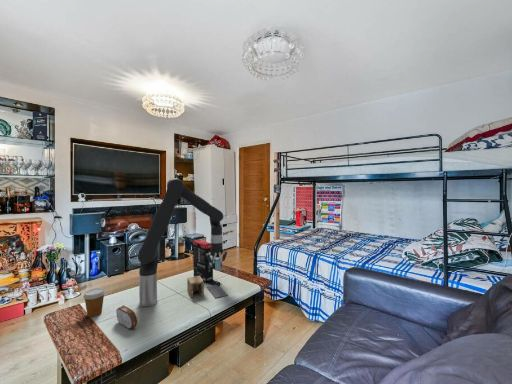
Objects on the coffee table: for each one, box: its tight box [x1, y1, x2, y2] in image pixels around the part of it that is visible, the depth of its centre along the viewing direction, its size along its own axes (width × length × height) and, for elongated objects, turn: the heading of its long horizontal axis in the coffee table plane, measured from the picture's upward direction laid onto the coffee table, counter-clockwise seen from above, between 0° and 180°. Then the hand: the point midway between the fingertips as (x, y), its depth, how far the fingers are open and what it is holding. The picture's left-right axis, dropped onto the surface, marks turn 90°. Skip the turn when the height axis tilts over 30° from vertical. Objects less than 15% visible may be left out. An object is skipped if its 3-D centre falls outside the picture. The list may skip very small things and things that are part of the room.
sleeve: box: [186, 276, 205, 299], centre depth 150 cm, size 8×10×9 cm
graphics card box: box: [192, 239, 214, 283], centre depth 175 cm, size 17×7×27 cm, turn 47°
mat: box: [206, 284, 229, 299], centre depth 154 cm, size 8×18×1 cm, turn 28°
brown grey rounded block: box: [116, 305, 138, 330], centre depth 116 cm, size 15×3×8 cm, turn 56°
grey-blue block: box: [210, 256, 222, 271], centre depth 157 cm, size 4×13×6 cm, turn 27°
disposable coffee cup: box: [83, 287, 106, 318], centre depth 126 cm, size 10×10×12 cm
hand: (216, 268), depth 153 cm, fingers closed on grey-blue block, 3 cm apart
